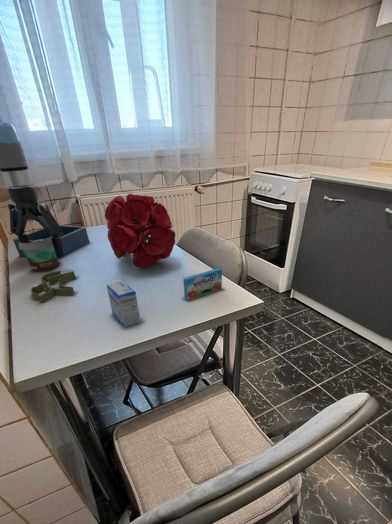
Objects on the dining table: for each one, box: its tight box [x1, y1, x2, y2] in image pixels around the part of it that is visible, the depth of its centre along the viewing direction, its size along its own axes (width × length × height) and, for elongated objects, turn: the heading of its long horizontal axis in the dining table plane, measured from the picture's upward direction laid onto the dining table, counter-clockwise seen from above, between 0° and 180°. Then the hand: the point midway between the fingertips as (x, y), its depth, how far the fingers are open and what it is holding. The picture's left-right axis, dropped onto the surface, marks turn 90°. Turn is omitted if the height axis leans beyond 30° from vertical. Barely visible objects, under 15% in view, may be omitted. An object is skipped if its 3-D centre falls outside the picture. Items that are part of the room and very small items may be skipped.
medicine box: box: [106, 280, 141, 328], centre depth 73 cm, size 8×4×9 cm, turn 35°
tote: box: [12, 225, 90, 260], centre depth 120 cm, size 18×22×7 cm
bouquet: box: [104, 193, 176, 269], centre depth 101 cm, size 22×24×30 cm
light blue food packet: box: [182, 268, 223, 301], centre depth 83 cm, size 12×2×6 cm, turn 123°
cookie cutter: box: [30, 270, 77, 303], centre depth 91 cm, size 18×12×2 cm, turn 15°
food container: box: [18, 236, 60, 272], centre depth 102 cm, size 12×6×10 cm, turn 137°
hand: (45, 255), depth 102 cm, fingers open, 13 cm apart
